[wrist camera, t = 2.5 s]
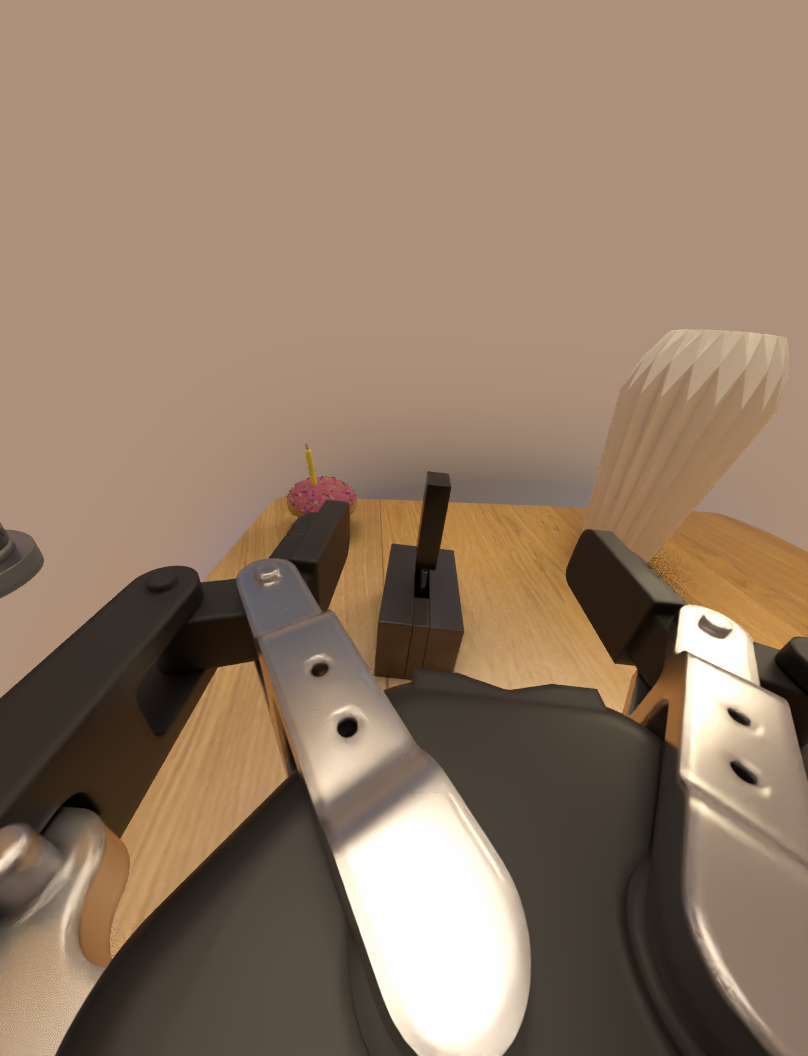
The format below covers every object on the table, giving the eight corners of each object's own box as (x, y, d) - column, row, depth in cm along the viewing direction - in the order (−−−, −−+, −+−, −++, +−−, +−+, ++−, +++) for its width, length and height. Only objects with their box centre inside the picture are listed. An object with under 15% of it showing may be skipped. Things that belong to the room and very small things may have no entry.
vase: (546, 525, 50) (620, 328, 37) (633, 537, 50) (740, 342, 36) (577, 579, 39) (701, 322, 25) (690, 595, 38) (876, 342, 25)
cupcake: (320, 556, 38) (316, 457, 32) (275, 530, 42) (264, 437, 36) (368, 529, 44) (373, 443, 38) (325, 508, 48) (323, 427, 42)
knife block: (374, 675, 25) (378, 621, 22) (387, 590, 34) (391, 543, 31) (449, 684, 25) (464, 631, 22) (443, 597, 34) (453, 550, 31)
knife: (404, 642, 28) (427, 485, 21) (406, 617, 31) (427, 469, 23) (422, 644, 28) (451, 488, 21) (422, 619, 31) (449, 471, 23)
